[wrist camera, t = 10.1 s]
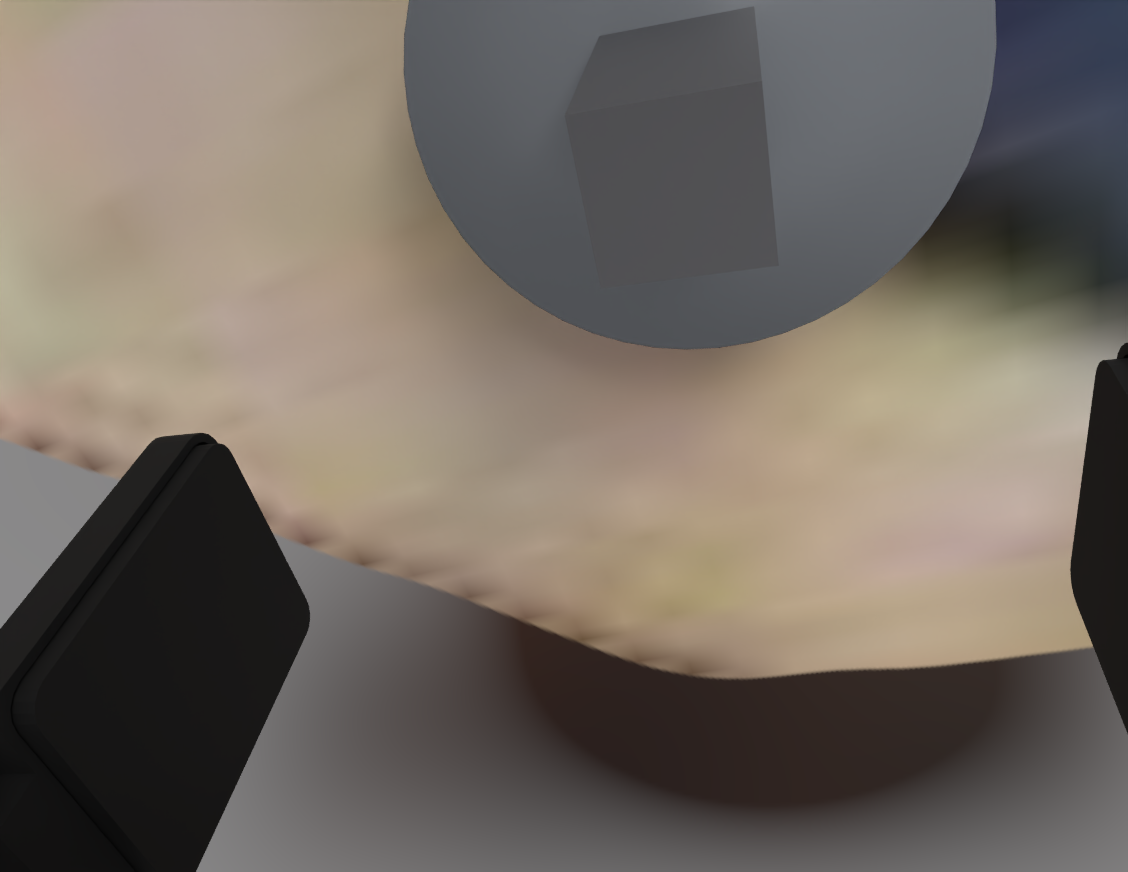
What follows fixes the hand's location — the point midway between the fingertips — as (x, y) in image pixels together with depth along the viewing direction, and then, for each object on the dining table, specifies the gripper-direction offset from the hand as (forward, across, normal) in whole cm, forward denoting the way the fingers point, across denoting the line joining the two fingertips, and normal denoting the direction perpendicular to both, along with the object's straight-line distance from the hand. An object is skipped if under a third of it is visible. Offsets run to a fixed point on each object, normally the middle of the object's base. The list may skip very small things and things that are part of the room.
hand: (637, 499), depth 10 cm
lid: (+16, 0, 0) cm, 16 cm away
